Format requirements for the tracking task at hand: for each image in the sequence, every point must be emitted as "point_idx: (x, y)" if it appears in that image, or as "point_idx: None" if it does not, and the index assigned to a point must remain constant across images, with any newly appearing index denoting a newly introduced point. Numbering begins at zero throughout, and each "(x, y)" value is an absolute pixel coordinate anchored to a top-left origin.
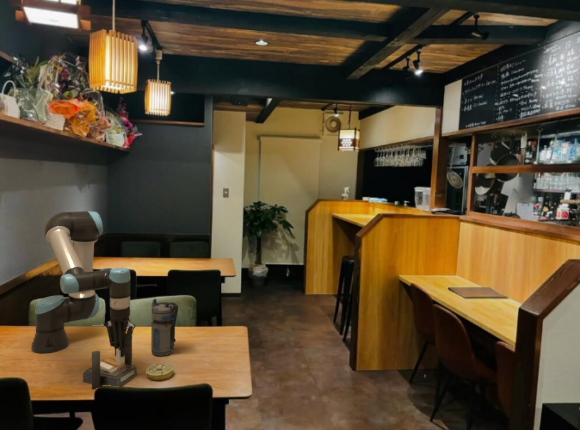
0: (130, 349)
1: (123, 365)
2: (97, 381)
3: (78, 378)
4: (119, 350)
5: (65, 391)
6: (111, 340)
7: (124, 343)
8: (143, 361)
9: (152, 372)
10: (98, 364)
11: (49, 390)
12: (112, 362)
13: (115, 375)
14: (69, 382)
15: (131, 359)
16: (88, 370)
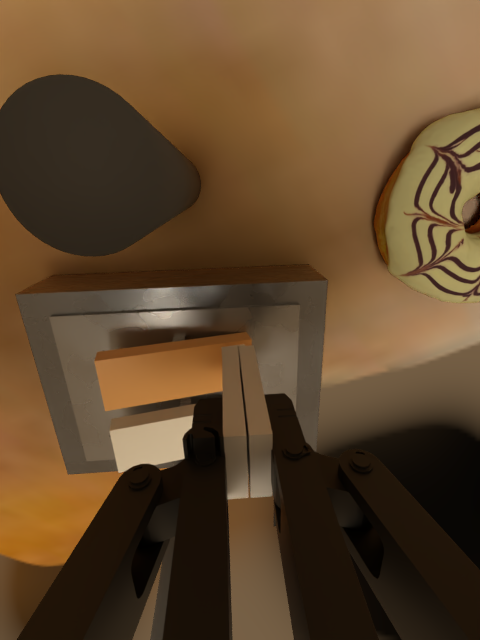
0: (188, 193)
1: (248, 337)
2: None
3: (34, 416)
4: (271, 489)
5: None
6: (135, 610)
7: (369, 576)
8: (213, 32)
9: (463, 290)
10: None
11: (34, 527)
12: (175, 385)
13: None
14: (37, 457)
15: (196, 177)
16: (78, 451)
